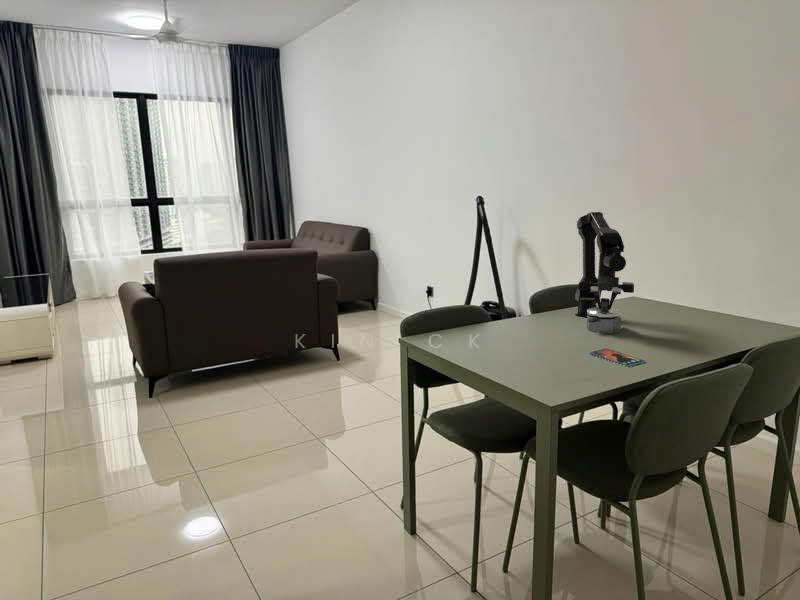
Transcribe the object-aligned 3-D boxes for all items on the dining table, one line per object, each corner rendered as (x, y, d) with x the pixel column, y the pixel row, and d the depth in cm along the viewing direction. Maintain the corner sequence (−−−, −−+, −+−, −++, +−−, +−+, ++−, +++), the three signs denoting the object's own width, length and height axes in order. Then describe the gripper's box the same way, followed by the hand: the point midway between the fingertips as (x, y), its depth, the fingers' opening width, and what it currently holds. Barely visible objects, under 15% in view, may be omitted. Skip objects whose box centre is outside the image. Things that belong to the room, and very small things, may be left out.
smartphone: (628, 366, 164) (588, 352, 177) (628, 370, 165) (588, 356, 177) (647, 360, 168) (606, 347, 181) (646, 364, 169) (606, 350, 181)
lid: (585, 318, 202) (586, 301, 200) (588, 311, 212) (589, 294, 211) (621, 321, 197) (622, 303, 196) (622, 313, 208) (623, 296, 207)
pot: (577, 329, 206) (577, 316, 205) (603, 323, 215) (604, 310, 214) (603, 336, 197) (604, 322, 196) (629, 328, 206) (630, 315, 205)
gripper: (577, 269, 197) (575, 312, 201) (635, 271, 190) (632, 316, 194) (580, 264, 207) (578, 305, 211) (635, 266, 200) (632, 309, 204)
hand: (604, 309), depth 204 cm, fingers closed on lid, 3 cm apart
